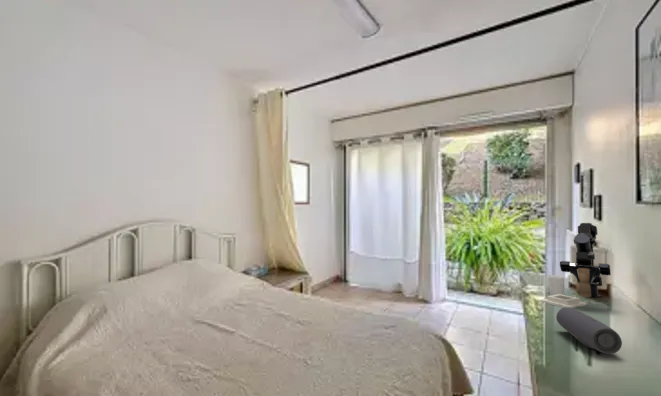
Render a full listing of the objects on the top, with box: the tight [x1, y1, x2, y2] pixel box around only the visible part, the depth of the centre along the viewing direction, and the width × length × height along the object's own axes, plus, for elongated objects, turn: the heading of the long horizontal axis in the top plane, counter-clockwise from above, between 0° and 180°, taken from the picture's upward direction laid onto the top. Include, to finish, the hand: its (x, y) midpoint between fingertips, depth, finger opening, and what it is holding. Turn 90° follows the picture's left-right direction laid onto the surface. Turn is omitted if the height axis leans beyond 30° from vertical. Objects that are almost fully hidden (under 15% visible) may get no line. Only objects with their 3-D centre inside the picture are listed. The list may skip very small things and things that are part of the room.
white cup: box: [547, 275, 566, 295], centre depth 173 cm, size 8×8×10 cm
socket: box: [540, 294, 588, 309], centre depth 157 cm, size 14×14×3 cm
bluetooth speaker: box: [556, 307, 623, 355], centre depth 110 cm, size 23×9×10 cm, turn 168°
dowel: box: [577, 268, 592, 298], centre depth 145 cm, size 4×4×13 cm
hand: (584, 282), depth 144 cm, fingers closed on dowel, 4 cm apart
